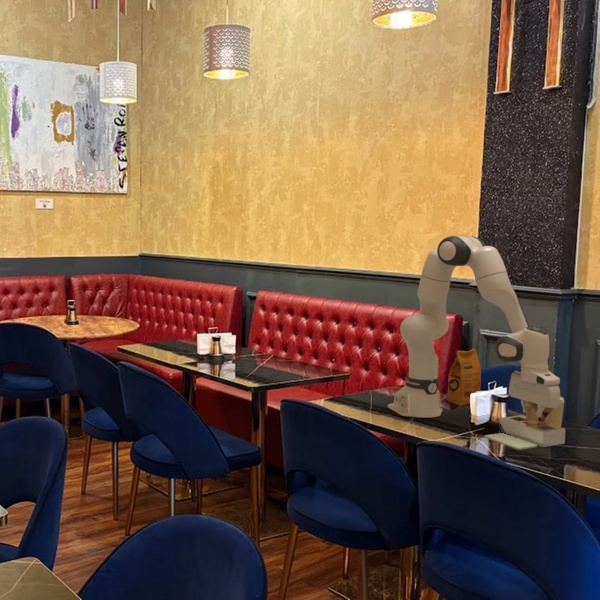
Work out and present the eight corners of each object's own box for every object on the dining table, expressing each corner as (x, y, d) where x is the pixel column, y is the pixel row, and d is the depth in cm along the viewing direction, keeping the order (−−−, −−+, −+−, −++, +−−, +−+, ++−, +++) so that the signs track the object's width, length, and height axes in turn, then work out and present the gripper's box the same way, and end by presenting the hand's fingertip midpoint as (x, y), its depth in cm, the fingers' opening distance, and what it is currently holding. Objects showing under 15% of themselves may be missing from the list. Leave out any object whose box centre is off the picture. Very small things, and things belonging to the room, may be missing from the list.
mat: (484, 437, 245) (484, 435, 245) (502, 434, 249) (502, 432, 249) (518, 450, 231) (518, 448, 231) (537, 447, 235) (537, 445, 235)
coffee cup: (529, 428, 258) (531, 395, 257) (550, 426, 261) (552, 393, 260) (547, 435, 249) (548, 401, 248) (568, 433, 252) (570, 399, 251)
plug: (522, 436, 247) (524, 401, 246) (531, 434, 248) (532, 400, 247) (531, 439, 243) (532, 404, 242) (539, 437, 245) (541, 403, 244)
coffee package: (443, 401, 297) (445, 348, 295) (466, 398, 303) (468, 347, 301) (459, 406, 288) (461, 352, 286) (483, 403, 294) (485, 350, 292)
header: (499, 431, 252) (500, 417, 252) (520, 428, 257) (521, 415, 256) (542, 447, 235) (543, 432, 234) (564, 443, 239) (565, 428, 239)
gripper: (505, 370, 251) (503, 409, 253) (550, 381, 233) (547, 423, 235) (518, 369, 254) (516, 407, 256) (564, 380, 236) (561, 421, 238)
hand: (532, 415), depth 245 cm, fingers closed on plug, 4 cm apart
